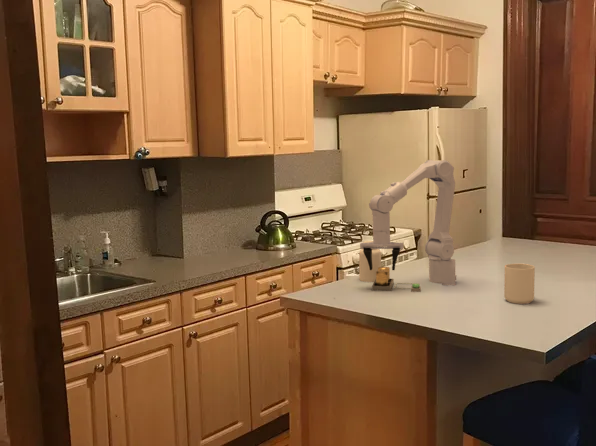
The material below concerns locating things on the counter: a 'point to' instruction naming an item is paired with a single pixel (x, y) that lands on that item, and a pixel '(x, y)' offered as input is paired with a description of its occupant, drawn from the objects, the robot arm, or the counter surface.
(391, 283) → the crate
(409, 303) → the counter surface
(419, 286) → the button
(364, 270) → the pill bottle
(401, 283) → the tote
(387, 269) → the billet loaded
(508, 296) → the mug
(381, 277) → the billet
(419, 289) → the button housing
